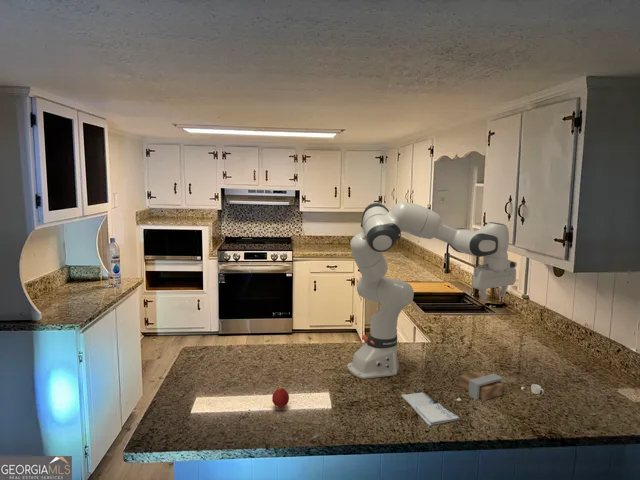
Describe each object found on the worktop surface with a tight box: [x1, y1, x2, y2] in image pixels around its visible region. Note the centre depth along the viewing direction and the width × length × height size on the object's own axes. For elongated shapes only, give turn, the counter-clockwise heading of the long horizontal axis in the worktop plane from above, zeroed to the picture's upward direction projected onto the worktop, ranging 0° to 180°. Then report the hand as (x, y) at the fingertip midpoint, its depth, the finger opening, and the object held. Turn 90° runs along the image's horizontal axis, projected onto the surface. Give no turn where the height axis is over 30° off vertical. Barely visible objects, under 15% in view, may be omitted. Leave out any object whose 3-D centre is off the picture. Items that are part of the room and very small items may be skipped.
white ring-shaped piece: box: [520, 383, 545, 395], centre depth 153 cm, size 9×8×4 cm
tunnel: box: [468, 373, 504, 400], centre depth 152 cm, size 12×4×6 cm, turn 115°
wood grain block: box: [459, 370, 504, 401], centre depth 154 cm, size 9×12×4 cm
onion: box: [271, 386, 290, 410], centre depth 144 cm, size 6×6×8 cm
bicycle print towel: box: [401, 391, 463, 426], centre depth 146 cm, size 19×20×2 cm
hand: (493, 297), depth 164 cm, fingers open, 8 cm apart
